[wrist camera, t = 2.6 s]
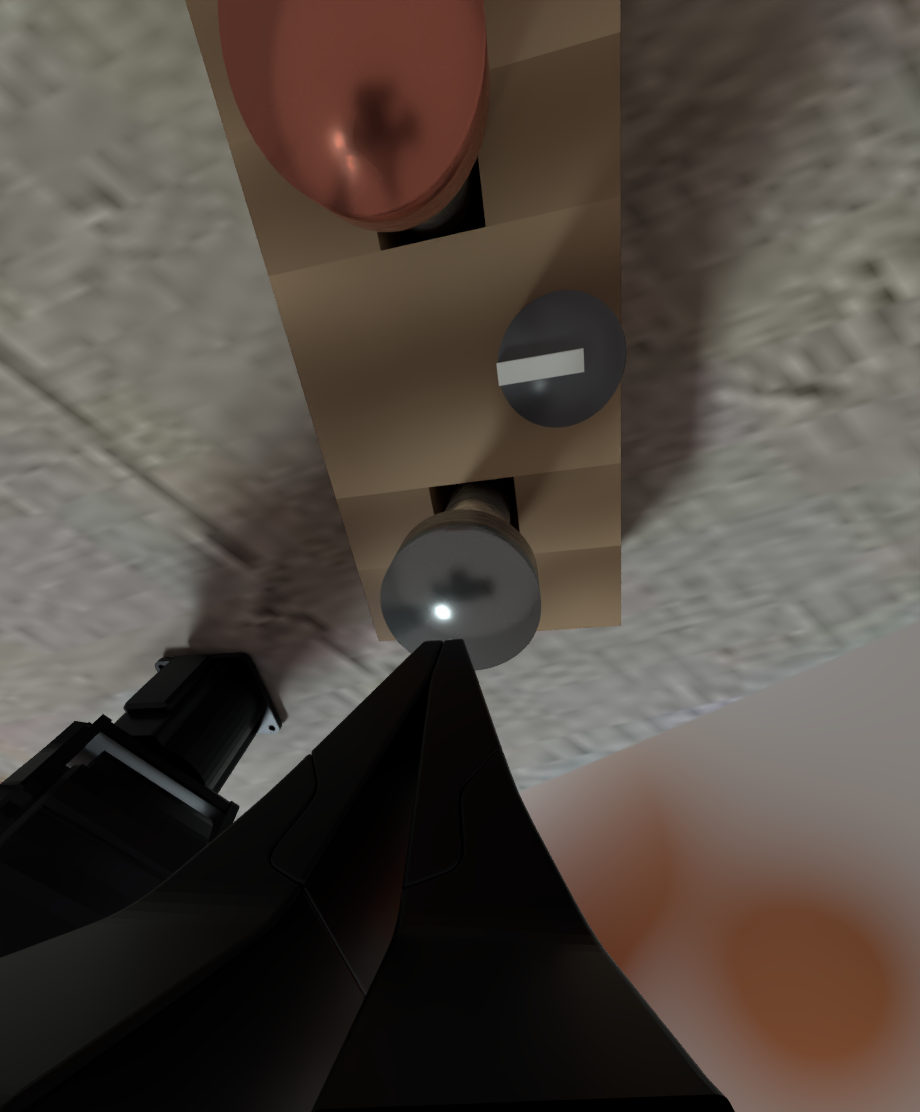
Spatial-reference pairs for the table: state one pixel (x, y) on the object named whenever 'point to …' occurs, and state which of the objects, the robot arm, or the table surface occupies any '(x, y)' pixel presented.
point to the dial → (561, 358)
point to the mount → (463, 312)
